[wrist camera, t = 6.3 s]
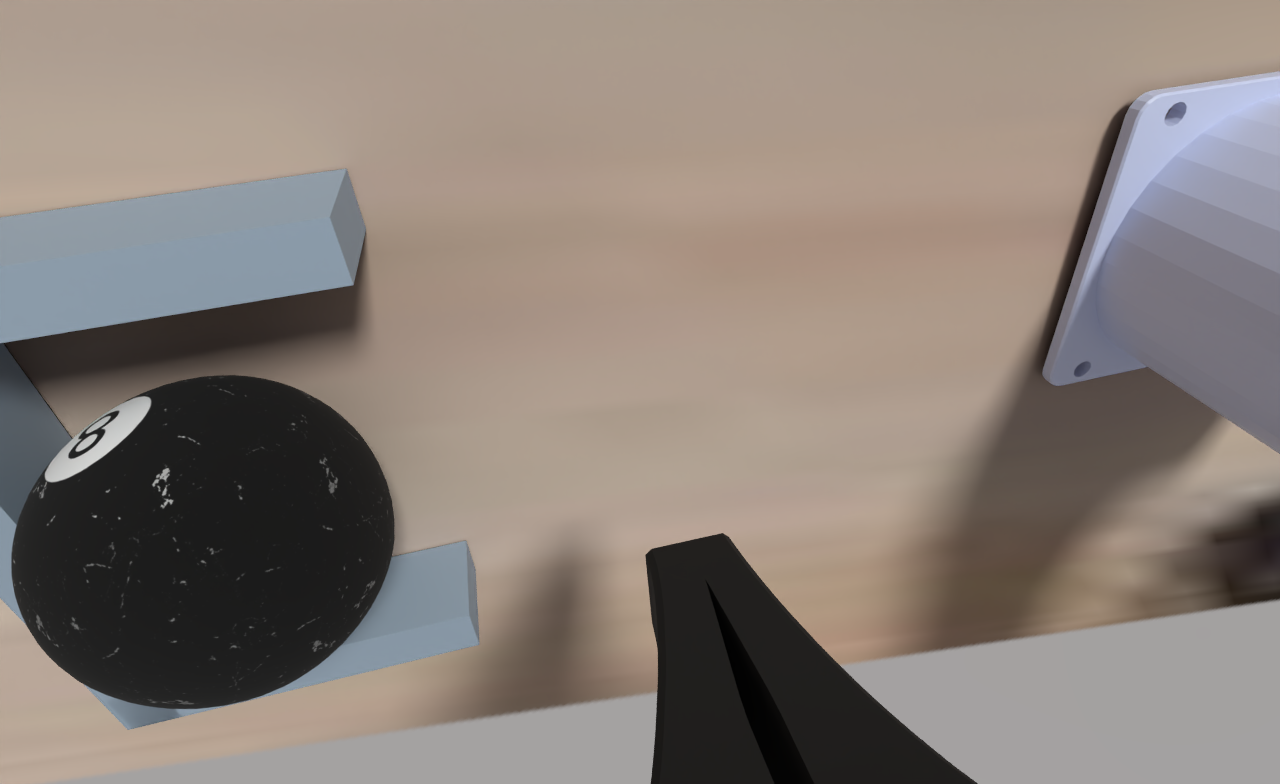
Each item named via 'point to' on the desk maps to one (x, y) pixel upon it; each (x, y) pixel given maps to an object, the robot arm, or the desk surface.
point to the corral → (192, 281)
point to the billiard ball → (203, 543)
